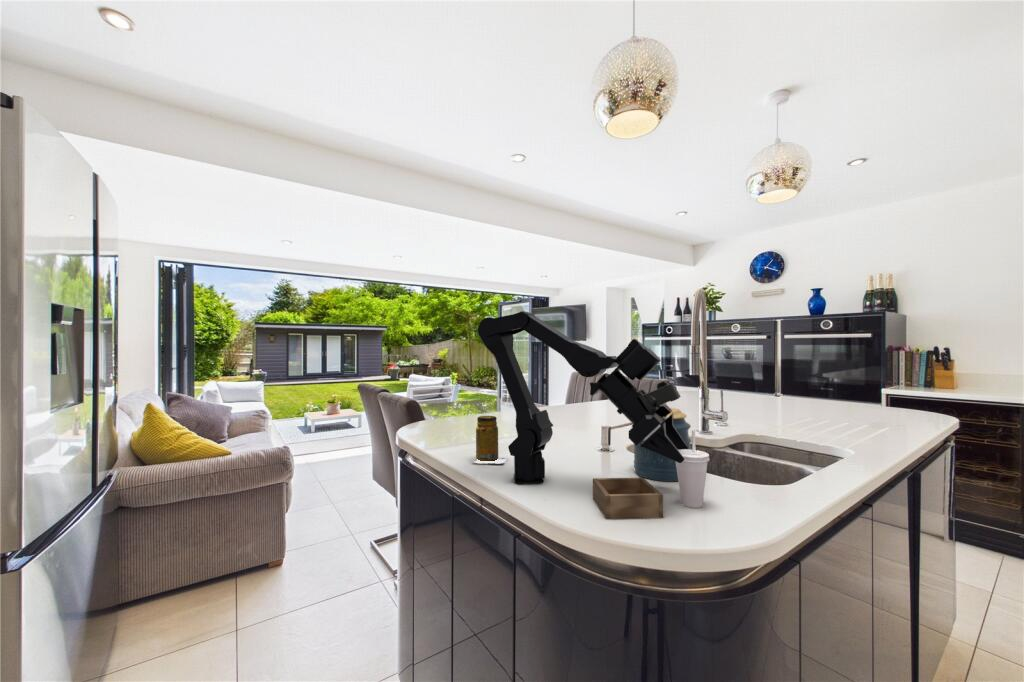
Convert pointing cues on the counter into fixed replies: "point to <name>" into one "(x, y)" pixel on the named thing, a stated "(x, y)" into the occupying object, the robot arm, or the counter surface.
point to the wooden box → (627, 498)
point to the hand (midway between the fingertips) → (684, 455)
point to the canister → (657, 464)
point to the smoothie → (692, 475)
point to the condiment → (487, 438)
